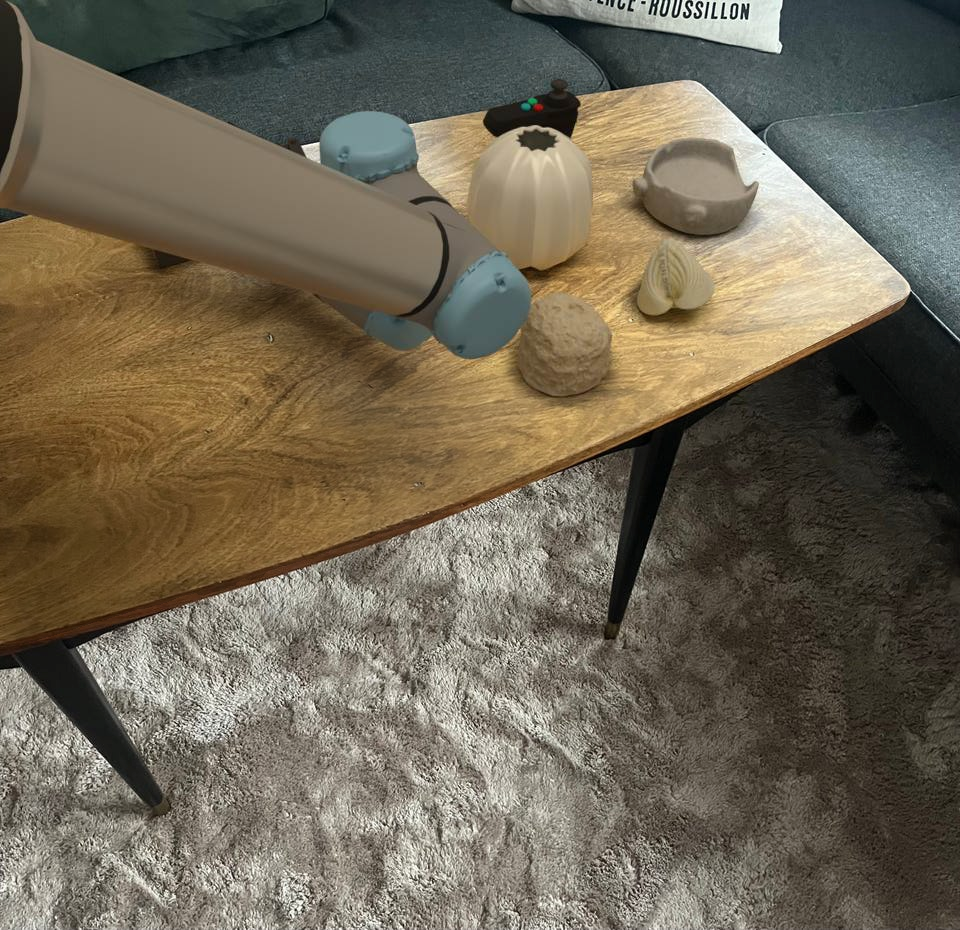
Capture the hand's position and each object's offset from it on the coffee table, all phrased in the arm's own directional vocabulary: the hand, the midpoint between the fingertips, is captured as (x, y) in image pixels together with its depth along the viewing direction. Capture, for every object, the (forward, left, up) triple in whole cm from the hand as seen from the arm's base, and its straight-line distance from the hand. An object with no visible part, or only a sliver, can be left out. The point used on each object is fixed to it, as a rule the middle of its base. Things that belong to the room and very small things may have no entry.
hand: (175, 158), depth 87 cm
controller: (+25, +33, -10) cm, 43 cm away
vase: (+33, +18, -10) cm, 39 cm away
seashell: (+51, +18, -10) cm, 55 cm away
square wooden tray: (-1, 0, -9) cm, 10 cm away
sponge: (+45, +3, -10) cm, 46 cm away
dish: (+46, +36, -10) cm, 60 cm away
